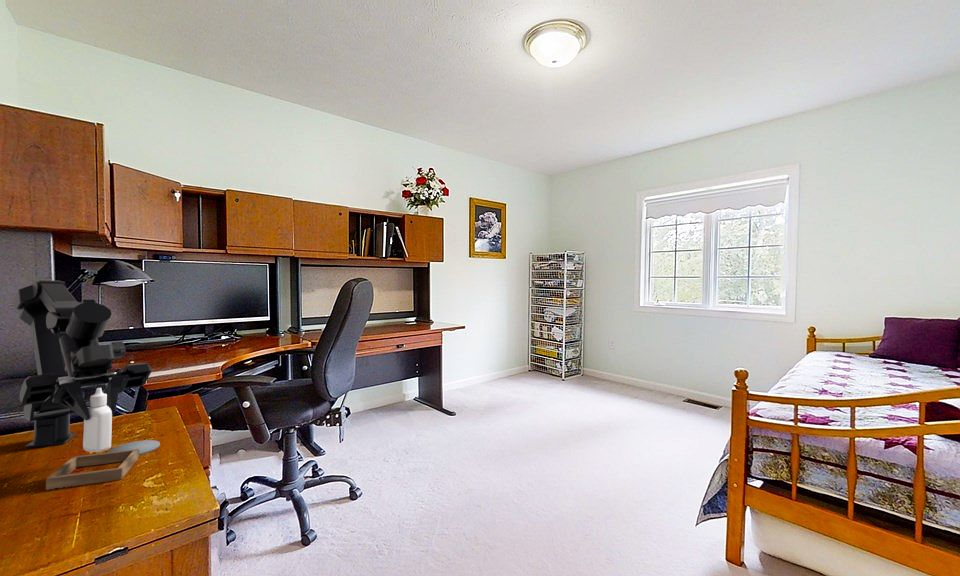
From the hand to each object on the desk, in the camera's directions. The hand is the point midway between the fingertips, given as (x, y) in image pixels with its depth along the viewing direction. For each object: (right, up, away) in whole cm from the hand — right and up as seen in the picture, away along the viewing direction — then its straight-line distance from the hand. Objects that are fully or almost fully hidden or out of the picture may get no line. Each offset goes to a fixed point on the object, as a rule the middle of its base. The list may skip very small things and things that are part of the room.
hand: (100, 416), depth 79 cm
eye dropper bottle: (-1, -7, +1) cm, 7 cm away
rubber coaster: (-4, -11, +12) cm, 17 cm away
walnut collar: (-1, -11, +1) cm, 11 cm away
